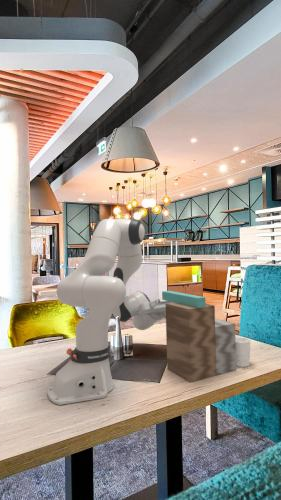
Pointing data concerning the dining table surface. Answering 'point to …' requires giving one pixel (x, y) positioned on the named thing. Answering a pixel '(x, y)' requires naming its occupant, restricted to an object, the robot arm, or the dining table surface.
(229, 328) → the stand
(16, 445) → the dining table surface
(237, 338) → the white cup
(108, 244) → the robot arm
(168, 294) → the teal bar
